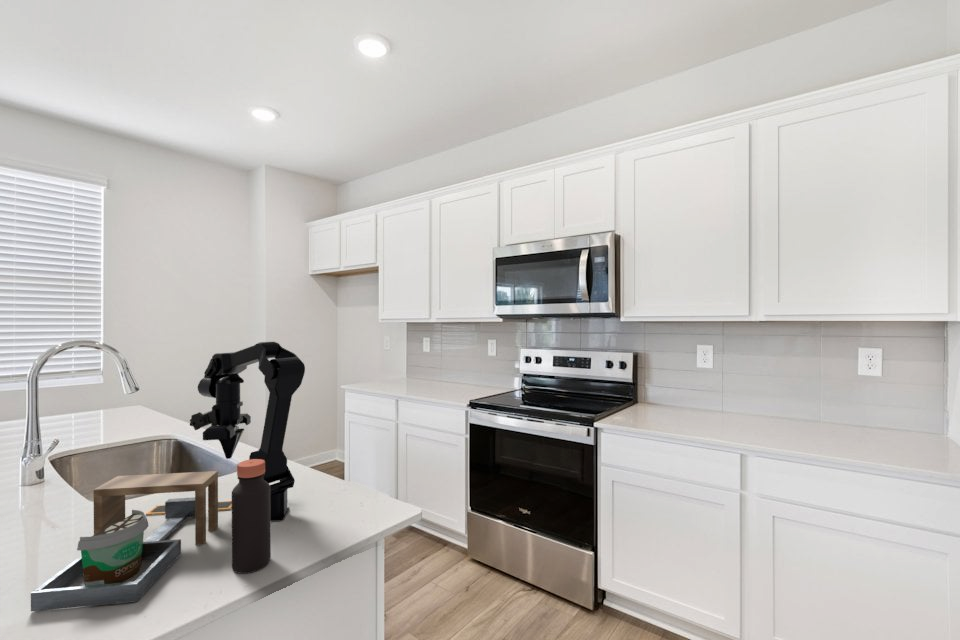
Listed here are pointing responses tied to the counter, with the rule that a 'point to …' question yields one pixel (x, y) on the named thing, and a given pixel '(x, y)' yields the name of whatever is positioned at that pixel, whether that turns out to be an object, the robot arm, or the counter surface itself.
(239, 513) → the bottle
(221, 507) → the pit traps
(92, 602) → the long grey tray
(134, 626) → the counter surface
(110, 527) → the food container
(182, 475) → the tunnel
